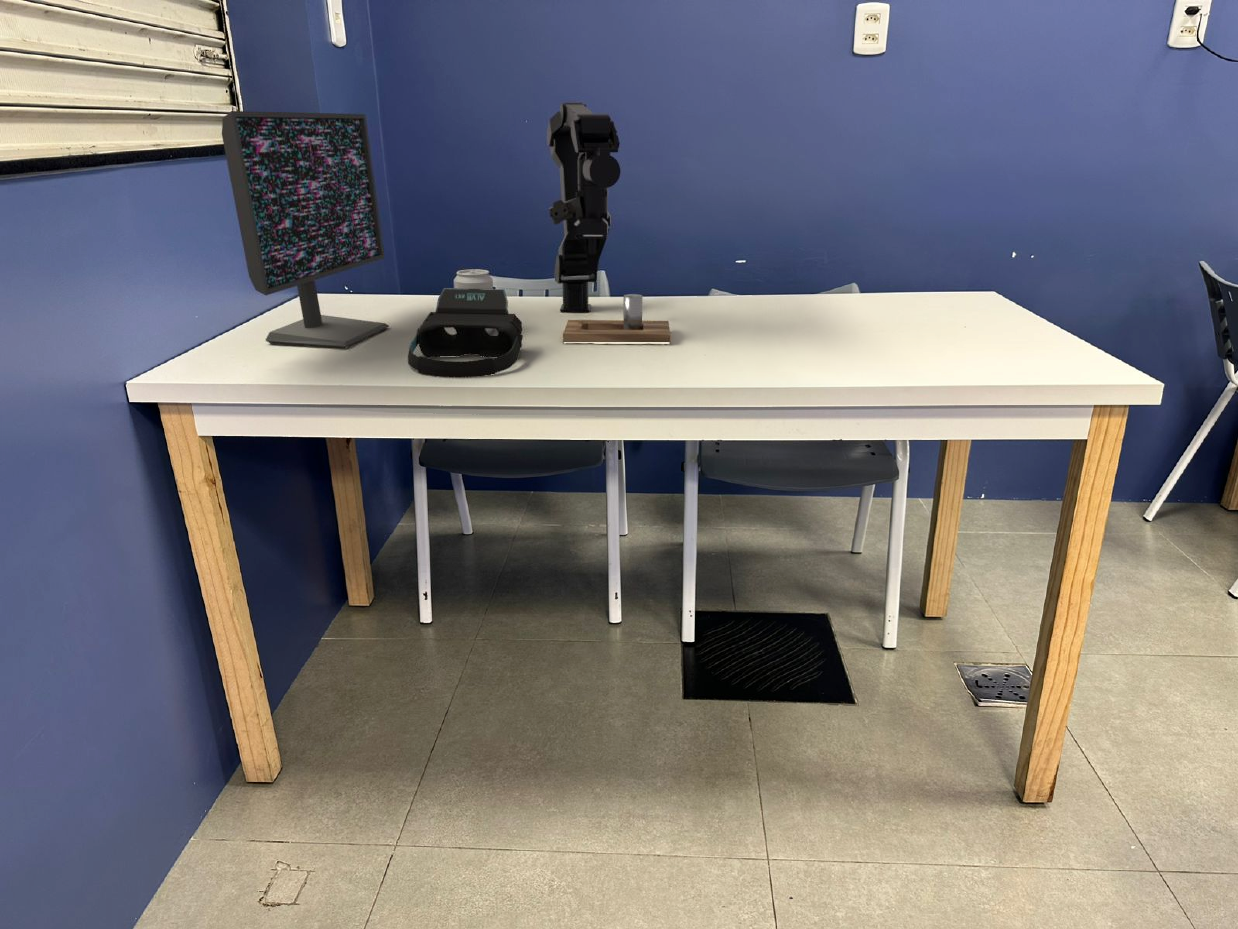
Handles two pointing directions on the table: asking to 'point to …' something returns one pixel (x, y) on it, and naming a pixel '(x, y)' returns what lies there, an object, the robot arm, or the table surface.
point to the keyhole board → (615, 331)
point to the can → (474, 281)
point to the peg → (632, 312)
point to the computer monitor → (304, 211)
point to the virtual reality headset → (468, 334)
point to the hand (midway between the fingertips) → (593, 267)
